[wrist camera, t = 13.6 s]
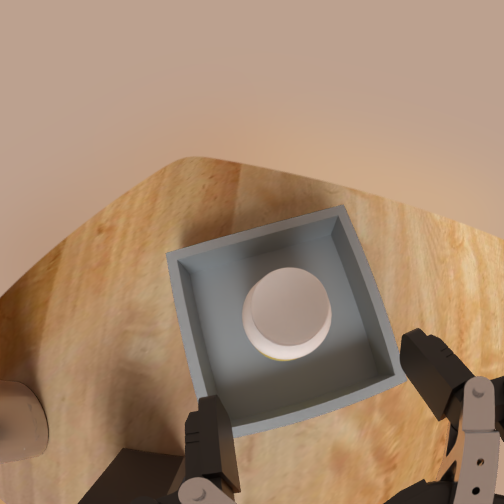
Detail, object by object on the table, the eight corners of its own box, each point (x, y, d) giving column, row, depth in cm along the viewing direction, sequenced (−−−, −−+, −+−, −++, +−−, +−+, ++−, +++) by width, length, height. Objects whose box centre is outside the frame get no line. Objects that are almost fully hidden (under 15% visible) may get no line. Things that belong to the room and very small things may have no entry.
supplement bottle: (323, 351, 23) (354, 343, 14) (257, 367, 23) (246, 370, 14) (307, 289, 25) (325, 244, 16) (244, 303, 25) (225, 267, 16)
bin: (220, 429, 22) (209, 442, 18) (181, 270, 27) (165, 253, 23) (386, 378, 22) (407, 380, 18) (334, 228, 28) (343, 204, 23)
